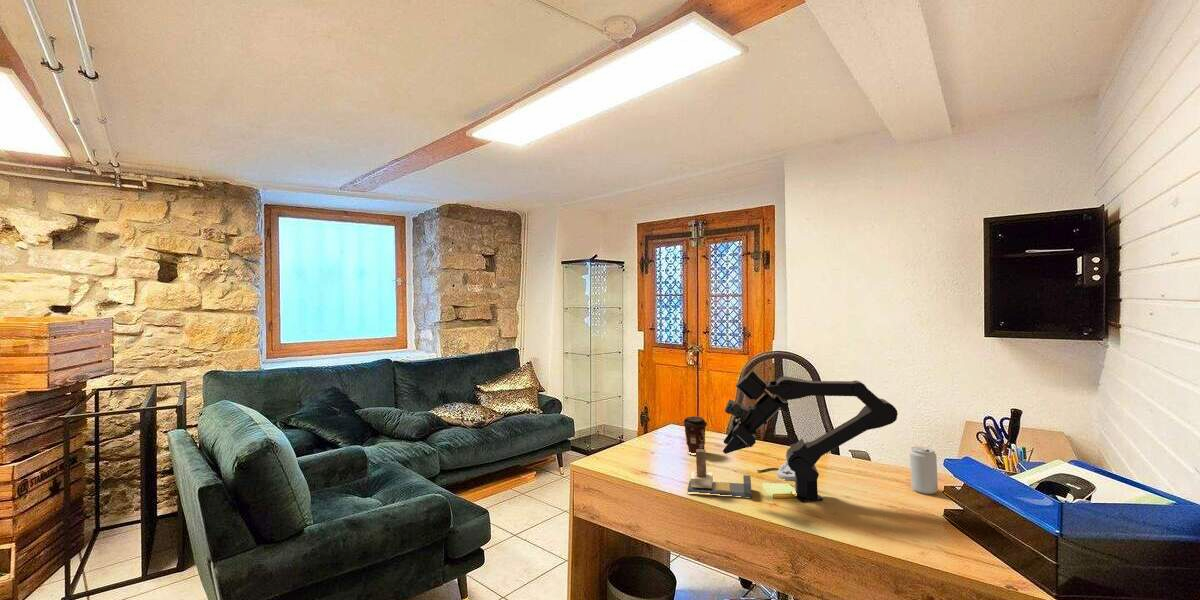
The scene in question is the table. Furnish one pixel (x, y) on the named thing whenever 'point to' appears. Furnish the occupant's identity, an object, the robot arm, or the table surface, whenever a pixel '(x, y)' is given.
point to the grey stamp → (701, 472)
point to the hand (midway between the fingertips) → (724, 447)
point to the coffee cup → (695, 433)
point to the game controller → (783, 472)
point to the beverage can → (923, 470)
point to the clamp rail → (726, 488)
